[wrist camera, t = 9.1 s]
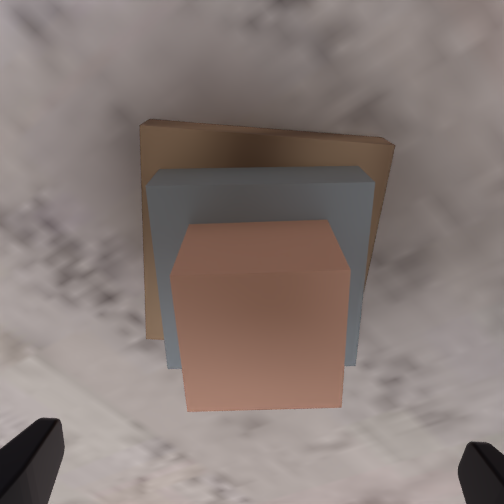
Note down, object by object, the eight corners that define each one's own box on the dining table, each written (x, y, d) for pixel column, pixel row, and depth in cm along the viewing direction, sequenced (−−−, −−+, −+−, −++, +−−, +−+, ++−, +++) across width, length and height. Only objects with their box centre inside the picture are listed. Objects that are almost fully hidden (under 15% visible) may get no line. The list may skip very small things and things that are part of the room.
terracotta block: (327, 219, 15) (350, 270, 12) (322, 334, 17) (341, 407, 14) (189, 224, 15) (169, 275, 12) (200, 338, 17) (187, 411, 14)
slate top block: (358, 165, 17) (375, 182, 15) (343, 331, 20) (355, 365, 18) (159, 169, 17) (145, 185, 15) (176, 334, 20) (167, 368, 18)
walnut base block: (377, 135, 19) (395, 145, 17) (341, 322, 23) (351, 351, 21) (153, 117, 19) (139, 125, 16) (156, 310, 23) (146, 338, 21)
